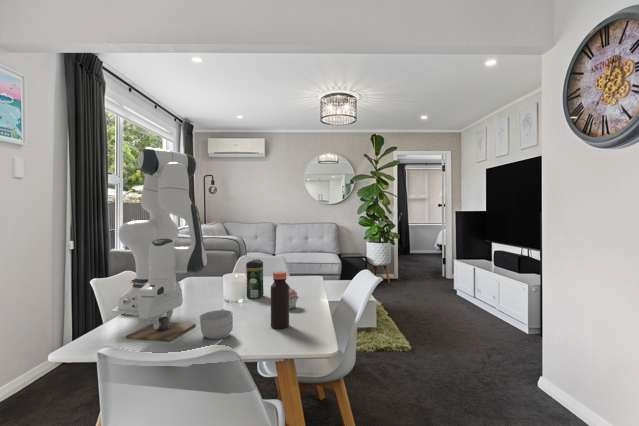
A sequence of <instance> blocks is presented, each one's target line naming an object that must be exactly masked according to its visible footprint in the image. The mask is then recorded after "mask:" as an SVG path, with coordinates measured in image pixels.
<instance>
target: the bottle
mask: <svg viewBox="0 0 639 426" xmlns="http://www.w3.org/2000/svg"><path fill="white" fill-rule="evenodd" d="M272 276H273V277H272V280H273V283H272V284H271V285H270V328H272V329H274V330H284V329H287V328H289V326H290V309H289V286H290V284H288V283H287V282H286V280H287V272H286V271H282V270H281V271H274V272H272Z"/></svg>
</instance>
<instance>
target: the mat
mask: <svg viewBox="0 0 639 426" xmlns="http://www.w3.org/2000/svg"><path fill="white" fill-rule="evenodd" d="M198 329H201V324H196V327H194V328H192V329H191V330H189V331H187V332H186V333H184V334H182V335H181V336H179V337H177V338H176V339H174V340H172V341H171V342H164V341H150V340H135V339H126V336H127V335H125V336H123V337H122V338H119V339H117V340H116V342H129V343H131V342H132V343H144V344H145V343H146V344H156V345H159V344H160V345H175V343H177V342H178V341H180V340H182V339H183V338H185V337H186V336H189V335H190V334H192V333H193V332H195V331H197V330H198Z"/></svg>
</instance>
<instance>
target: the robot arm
mask: <svg viewBox="0 0 639 426" xmlns="http://www.w3.org/2000/svg"><path fill="white" fill-rule="evenodd" d="M137 165H138V166H137V167H138V169H139V170H140V171H141V173H143V174H145V177H144V181H143V185H142V193H141V197H140V198H141V199H140V206H141V208H143V210H145V211H146V212H147V213H149V214H148V215H149V219H144V220H143V219H141V220H131V221H127V222H124V223H123V224H121V226H120V228H119V229H118V238H119V241H120V242H121V244H123V245H124V246H125V247H126V248H128V249H129V251H130V252H131V254H132V255H133V259H134V262H135V276H136V277H135V278H133V279H131V280H130V284H132V285H131V287H130V288H129V289H128V290H126V291H125V292H124V293H123V294H121V295H120V297H119V298H118V302H117V306H115V307H114V308H112V310H111V313H113V314H121V315H126V316H127V315H128V316H134V317H137V316H138V317H139V319H140V320H142V321H151V322H152V323H153V324H154V329H158V328H160V327H161V323H160V322H159V320H158V319H159V317H160V316H162V315H164V314H165V317H168V323H170V322H172V316H173V314H174V309H177V308H179V307H181V306H182V304H183V300H184V299H183V290H182V287H181V284H180V283H179V282H178V281H177V274H178V273H179V274H180V273H189V274H200V272H202V271H203V270H204V269H205V268H206V267H207V263H208V258H207V256H208V255H207V253H206V249H205V248H206V247H205V244H204V237H203V231H202V225H201V218H200V212H199V209H198V207H197V205H196V204H194V203H193V202H192V200H191V198H190V179H191V178H192V177H193V176H194V175H195V173H196V169H197V162H196V158H195V157H194V156H193V155H190V154H189V153H182V152H179V151H175V150H172V149H170V150H169V149H162V148H154V147H144V148H143V149H141V151H140V152H139V154H138V156H137ZM171 215H173V216H176V217H178V218H179V219H180V218H181V219H183V220H184V221H185V222H186V223H187V225H188V226H187V227H188V231H189V239H190V245H189V246H176V245H175V241H177V238H178V236H179V233H180V231H179V226H178V224H177V223H175V221H174V220H173V219H172V217H171ZM176 273H177V274H176ZM124 313H125V314H124Z"/></svg>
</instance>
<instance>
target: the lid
mask: <svg viewBox="0 0 639 426" xmlns="http://www.w3.org/2000/svg"><path fill="white" fill-rule="evenodd" d="M158 320H159V322H160V323H161V327H160V328H158V329H154V324H153V322H152V323H150V324H148V325H146V326H144V327H142V328H140V329H138V330H136V331H133V332H131V333H129V334H128V335H125V336H126V339H135V340H150V341H164V342H171V341H172V340H174V339H176V338H177V337H179V336H181V335H182V334H184V333H186V332H187V331H189V330H191V329H192V328H194V327H196V325H197V324H196V323H187V322H174V321H173V322H172V321H171V322H170V323H168V317H166V316H159V319H158Z"/></svg>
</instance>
